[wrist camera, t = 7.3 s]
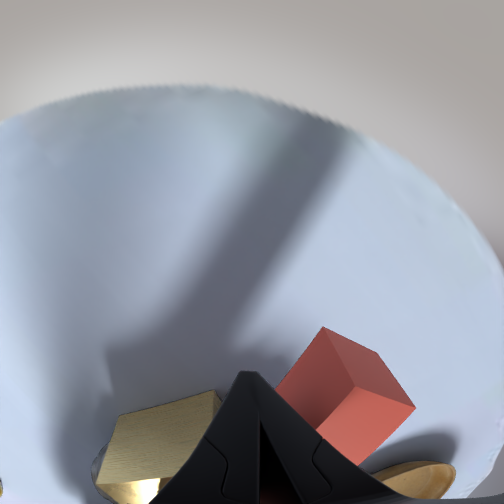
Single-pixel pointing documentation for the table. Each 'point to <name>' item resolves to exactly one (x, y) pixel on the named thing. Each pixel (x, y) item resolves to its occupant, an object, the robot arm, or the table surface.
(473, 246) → the table surface
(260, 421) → the robot arm
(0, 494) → the bread roll
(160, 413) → the valve pipe
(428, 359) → the table surface
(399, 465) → the plant saucer
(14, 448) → the table surface
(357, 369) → the lever
